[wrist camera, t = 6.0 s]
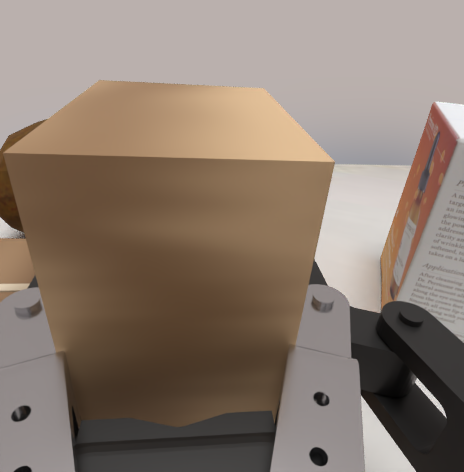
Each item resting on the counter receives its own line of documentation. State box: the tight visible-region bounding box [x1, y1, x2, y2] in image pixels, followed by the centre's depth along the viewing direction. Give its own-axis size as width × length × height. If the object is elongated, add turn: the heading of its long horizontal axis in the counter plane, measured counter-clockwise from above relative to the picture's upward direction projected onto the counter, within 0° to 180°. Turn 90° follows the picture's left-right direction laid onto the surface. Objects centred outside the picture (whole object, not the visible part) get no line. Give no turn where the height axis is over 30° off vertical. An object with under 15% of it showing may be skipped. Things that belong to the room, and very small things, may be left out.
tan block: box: [3, 80, 335, 427], centre depth 13 cm, size 4×12×12 cm, turn 6°
